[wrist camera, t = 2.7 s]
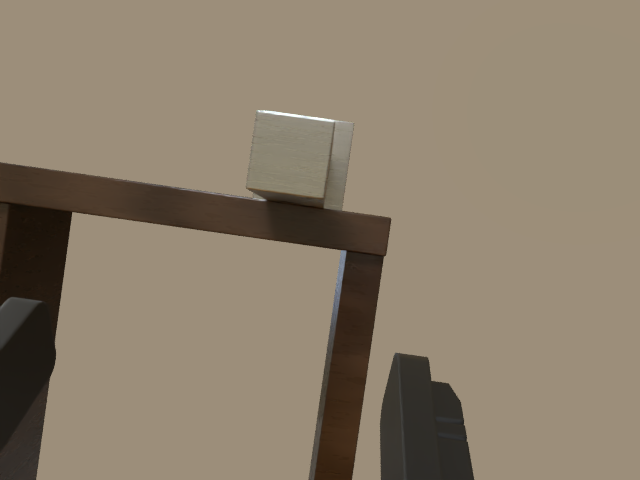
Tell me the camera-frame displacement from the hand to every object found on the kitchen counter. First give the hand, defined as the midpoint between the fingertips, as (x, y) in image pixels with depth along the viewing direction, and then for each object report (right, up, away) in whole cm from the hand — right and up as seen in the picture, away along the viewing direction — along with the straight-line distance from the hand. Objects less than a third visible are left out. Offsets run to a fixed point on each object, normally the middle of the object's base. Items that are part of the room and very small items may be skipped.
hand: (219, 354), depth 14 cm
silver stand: (+1, +5, +17) cm, 17 cm away
